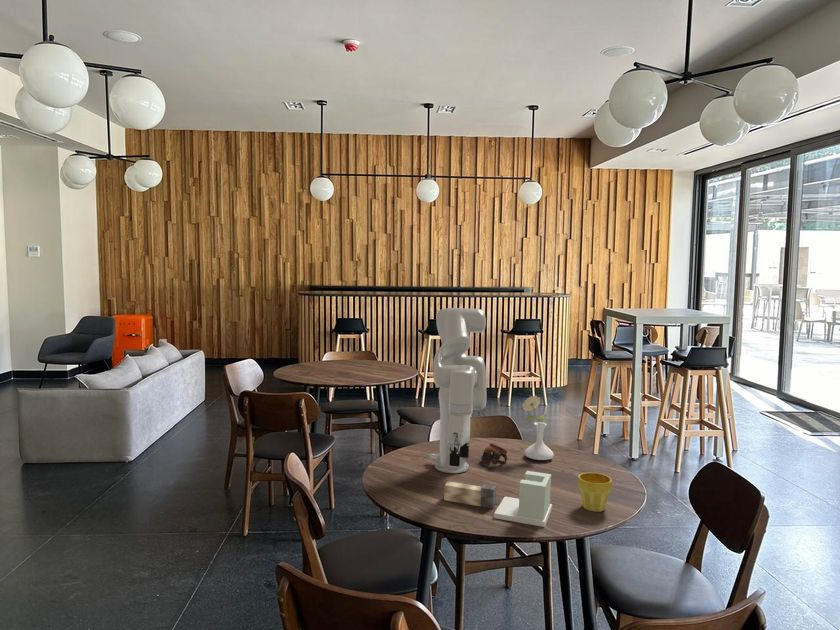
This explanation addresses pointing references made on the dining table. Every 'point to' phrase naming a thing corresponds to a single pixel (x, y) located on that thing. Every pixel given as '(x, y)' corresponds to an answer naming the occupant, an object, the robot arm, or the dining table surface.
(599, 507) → the plant pot
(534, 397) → the flower in vase
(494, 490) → the rail
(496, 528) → the dining table surface
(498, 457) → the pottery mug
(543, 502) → the slotted block on base
